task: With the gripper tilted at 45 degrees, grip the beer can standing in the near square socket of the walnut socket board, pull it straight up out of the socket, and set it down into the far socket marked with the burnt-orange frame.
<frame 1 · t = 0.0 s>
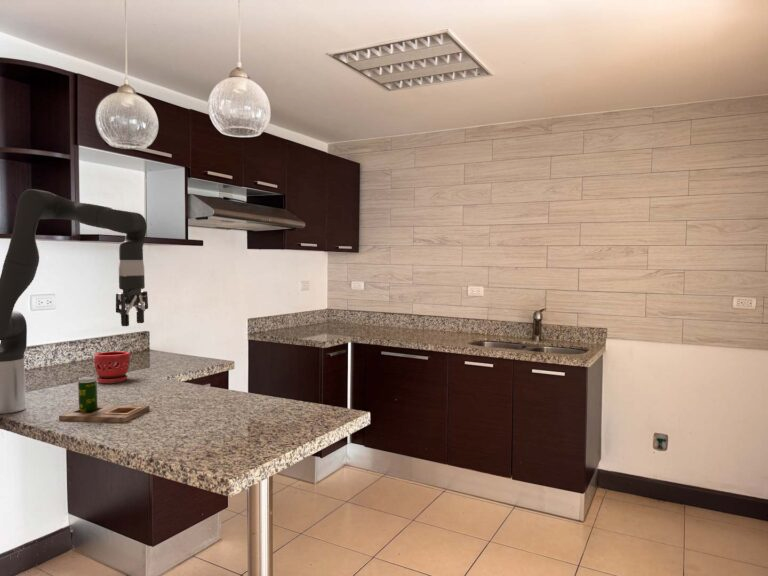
hand: (133, 324, 178), 29 cm above the countertop, tool pointing down, fingers open, 8 cm apart
socket board: (105, 415, 178), on the countertop
plant pot: (113, 381, 230), on the countertop
beer can: (88, 415, 179), resting in socket board
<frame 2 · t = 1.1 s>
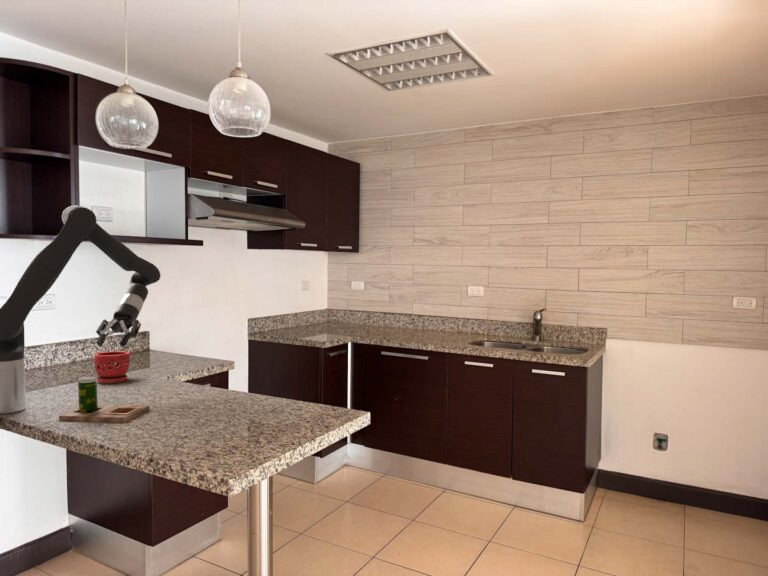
hand: (110, 345, 190), 21 cm above the countertop, tool tilted 45°, fingers open, 8 cm apart
nothing on the countertop moved.
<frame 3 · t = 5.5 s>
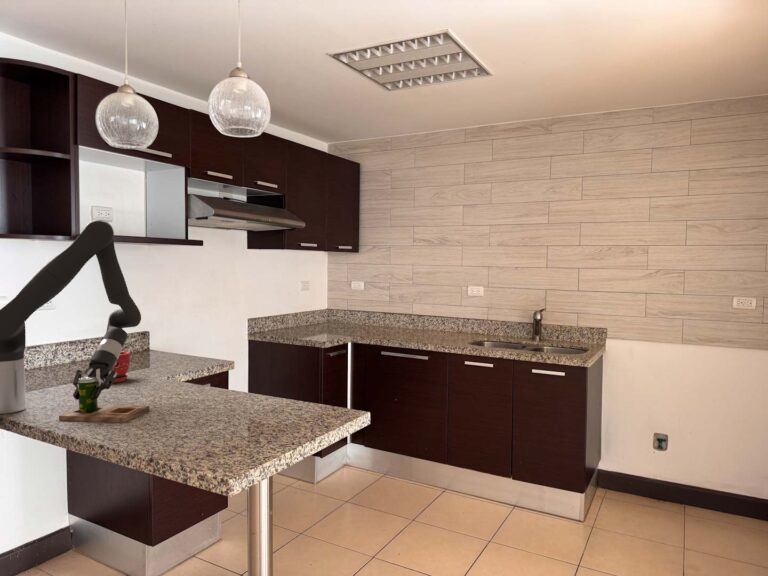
hand: (84, 398, 177), 6 cm above the countertop, tool tilted 45°, fingers closed on beer can, 5 cm apart
beer can: (88, 415, 179), resting in socket board, touching gripper
everything else where it was.
when the fingers open (6 cm above the countertop, at t = 12.3 s): beer can stays where it is, resting in socket board.
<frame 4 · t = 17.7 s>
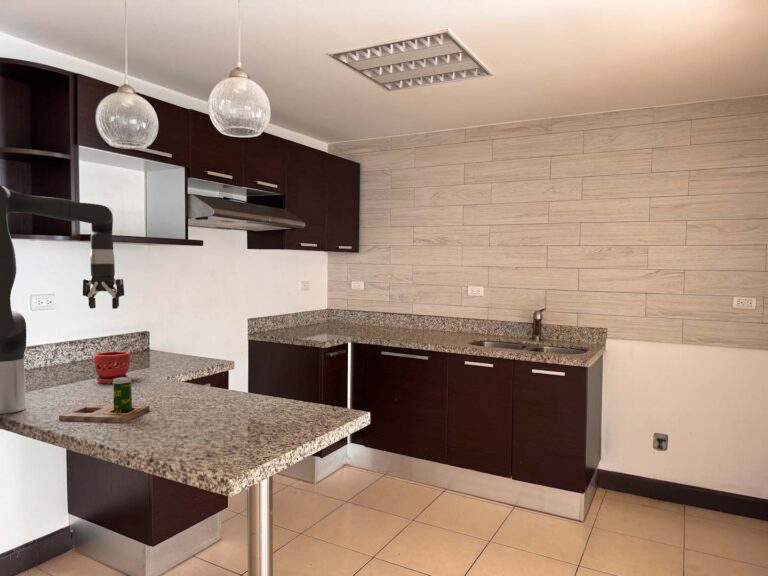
hand: (104, 308, 195), 33 cm above the countertop, tool pointing down, fingers open, 8 cm apart
beer can: (123, 416, 178), resting in socket board
everything else where it was.
at the end: beer can 0.2 cm from the target spot on the socket board, point 0.0 cm above the socket board's base; beer can tilted 0°; the gripper is holding nothing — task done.
